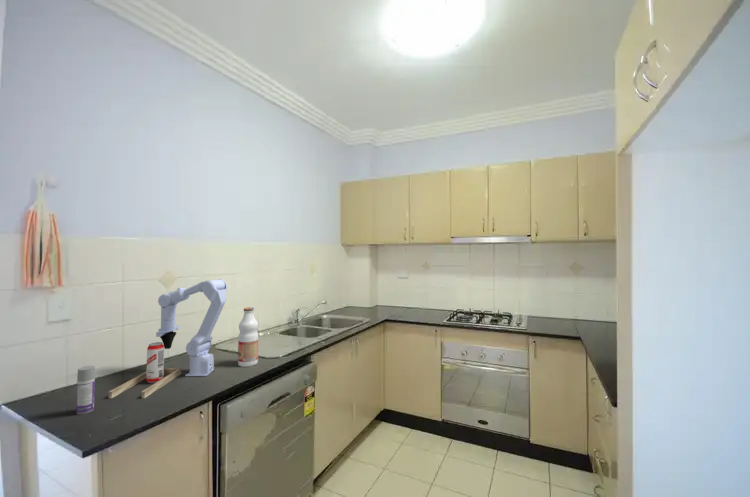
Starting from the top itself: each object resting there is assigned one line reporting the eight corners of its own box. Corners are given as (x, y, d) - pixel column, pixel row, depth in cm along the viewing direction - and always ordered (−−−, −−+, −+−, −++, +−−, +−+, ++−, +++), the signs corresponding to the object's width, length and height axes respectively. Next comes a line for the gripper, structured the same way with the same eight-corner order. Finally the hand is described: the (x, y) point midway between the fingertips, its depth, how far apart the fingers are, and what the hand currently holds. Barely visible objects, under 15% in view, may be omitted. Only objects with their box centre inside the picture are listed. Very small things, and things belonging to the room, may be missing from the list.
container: (83, 408, 117) (84, 365, 117) (97, 407, 117) (98, 365, 117) (72, 414, 112) (73, 370, 112) (87, 414, 112) (88, 370, 113)
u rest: (181, 374, 150) (181, 368, 150) (144, 398, 125) (144, 391, 125) (151, 374, 150) (151, 368, 150) (108, 398, 125) (108, 391, 125)
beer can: (154, 384, 138) (155, 346, 138) (142, 383, 139) (143, 345, 140) (167, 378, 144) (167, 342, 144) (155, 377, 145) (155, 341, 146)
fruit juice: (250, 367, 159) (251, 309, 160) (233, 366, 161) (234, 309, 162) (261, 361, 168) (262, 306, 169) (245, 360, 170) (246, 306, 171)
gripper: (168, 316, 162) (168, 344, 162) (149, 322, 148) (148, 353, 147) (183, 316, 162) (182, 344, 162) (165, 322, 148) (165, 353, 148)
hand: (167, 348), depth 155 cm, fingers closed
